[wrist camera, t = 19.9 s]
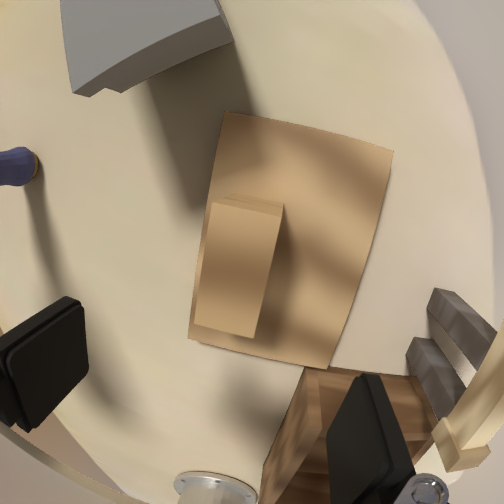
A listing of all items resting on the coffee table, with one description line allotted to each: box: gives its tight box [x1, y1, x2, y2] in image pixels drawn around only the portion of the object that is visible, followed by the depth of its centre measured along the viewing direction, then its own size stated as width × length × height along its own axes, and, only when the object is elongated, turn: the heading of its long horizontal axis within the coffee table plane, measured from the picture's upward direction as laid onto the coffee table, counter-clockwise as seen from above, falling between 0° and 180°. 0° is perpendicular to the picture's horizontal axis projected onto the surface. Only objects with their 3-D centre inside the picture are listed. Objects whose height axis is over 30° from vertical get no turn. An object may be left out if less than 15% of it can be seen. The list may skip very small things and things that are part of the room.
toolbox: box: [258, 288, 498, 504], centre depth 22 cm, size 28×12×10 cm, turn 169°
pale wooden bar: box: [431, 320, 504, 473], centre depth 12 cm, size 11×3×4 cm, turn 169°
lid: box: [188, 111, 394, 369], centre depth 19 cm, size 18×12×8 cm, turn 169°
